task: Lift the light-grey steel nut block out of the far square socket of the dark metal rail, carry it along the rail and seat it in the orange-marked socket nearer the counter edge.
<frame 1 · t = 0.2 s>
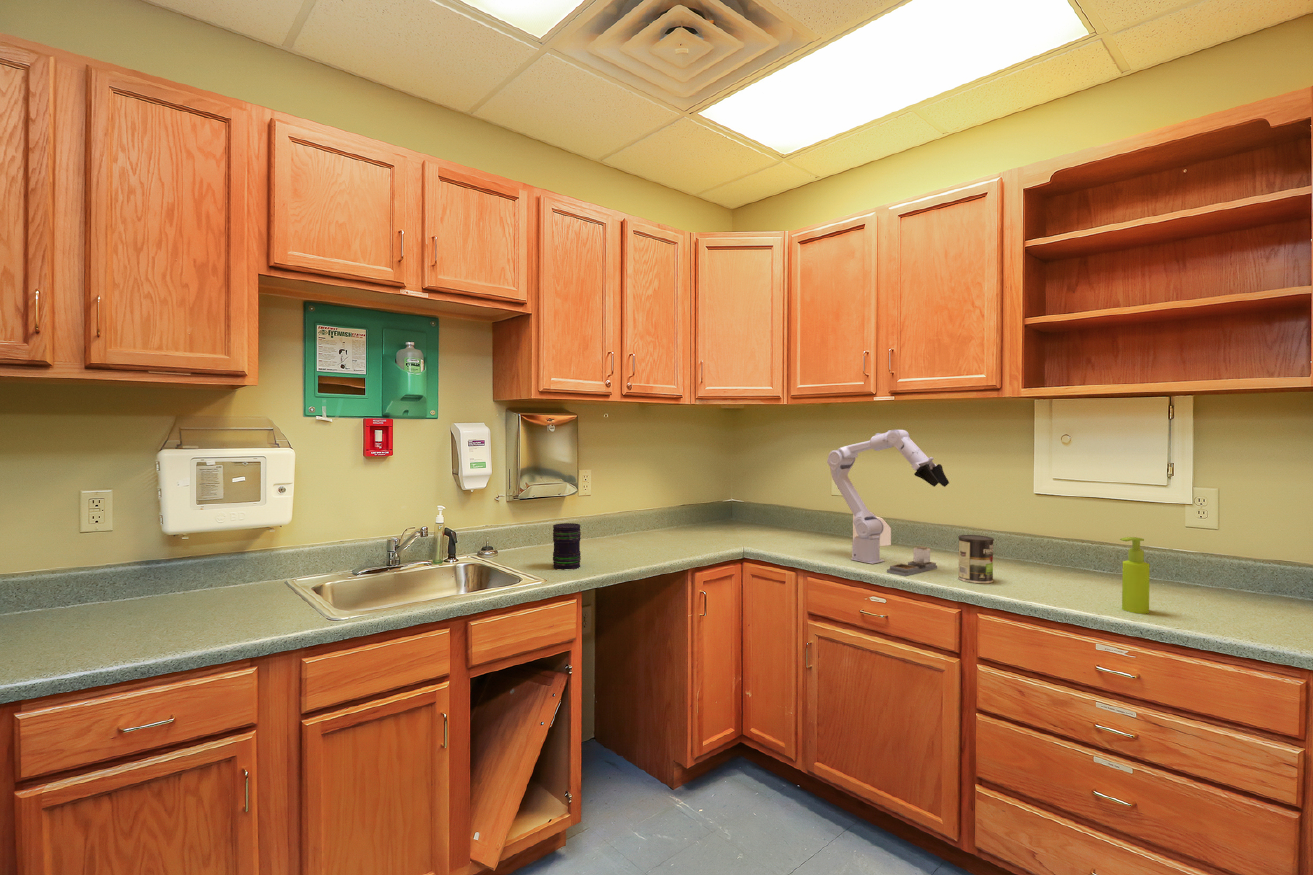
hand: (941, 484, 212), 31 cm above the worktop, tool tilted 45°, fingers open, 7 cm apart
storage jar: (566, 567, 224), on the worktop
rail: (912, 570, 219), on the worktop
coffee can: (975, 580, 206), on the worktop
nut block: (921, 565, 223), point 1 cm above the worktop, touching rail
soap dispenser: (1133, 611, 171), on the worktop
corner bracket: (871, 544, 270), on the worktop
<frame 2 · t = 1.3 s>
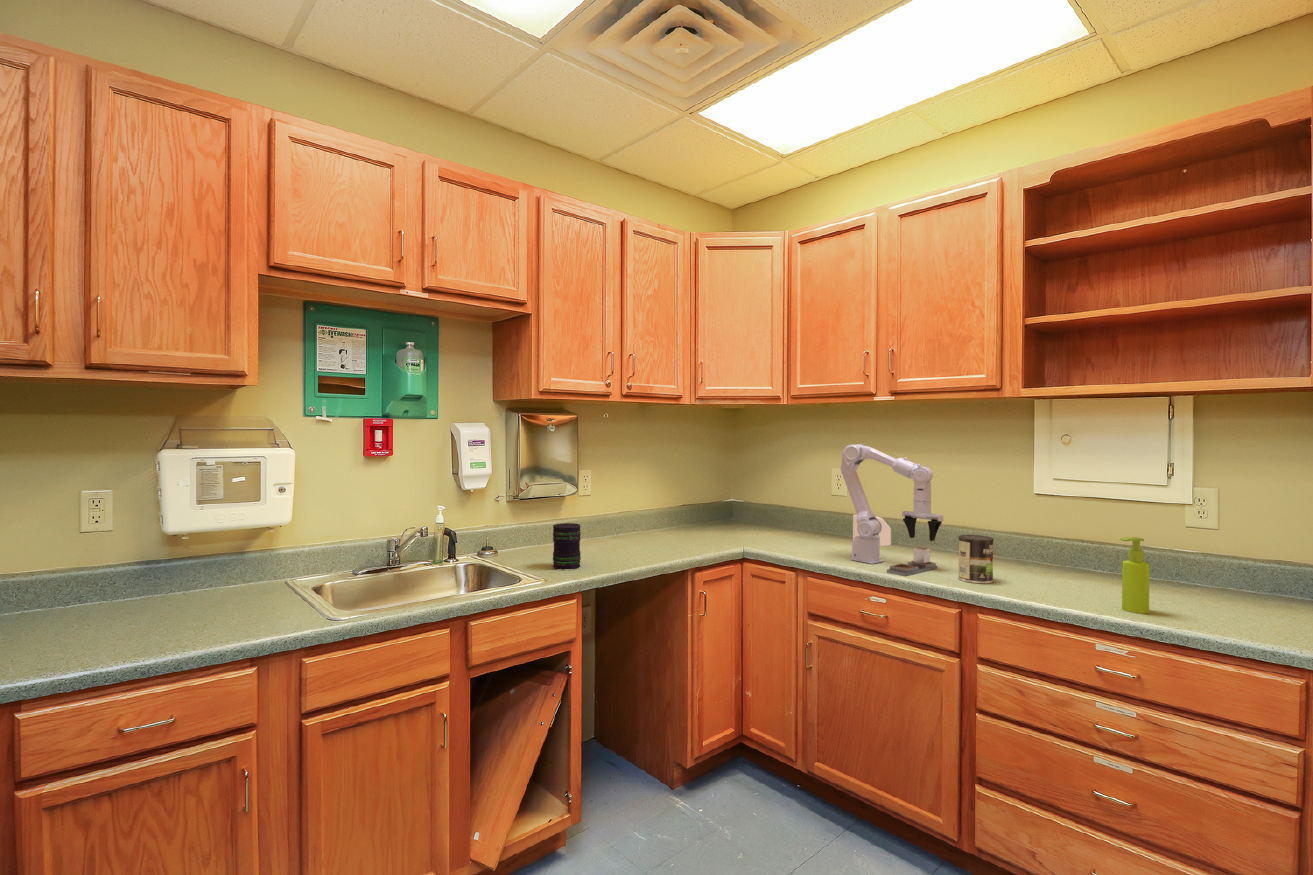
hand: (922, 539, 223), 10 cm above the worktop, tool pointing down, fingers open, 7 cm apart
nothing on the worktop moved.
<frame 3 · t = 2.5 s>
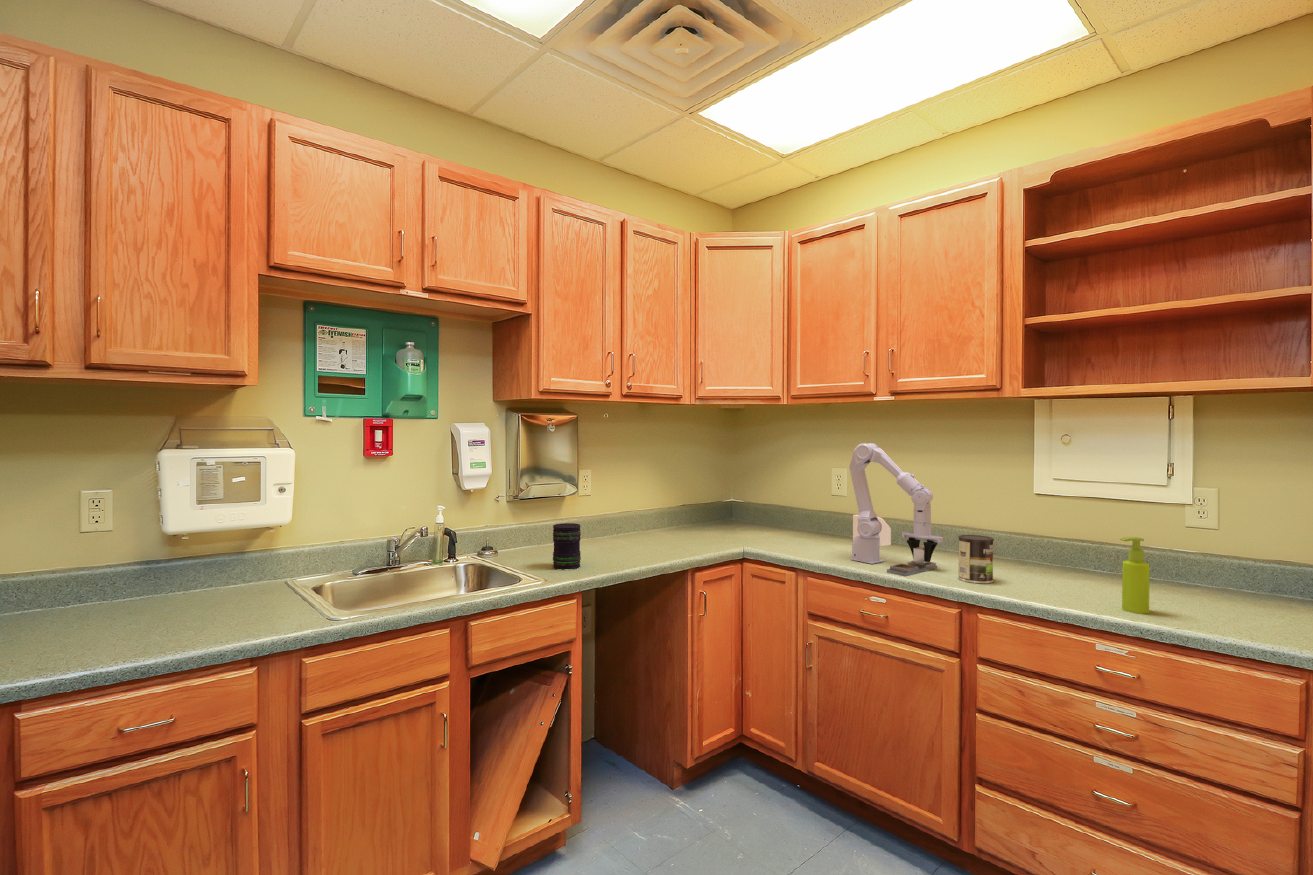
hand: (921, 560, 223), 3 cm above the worktop, tool pointing down, fingers closed on nut block, 4 cm apart
nut block: (921, 565, 223), point 1 cm above the worktop, touching gripper, rail
everything else where it was.
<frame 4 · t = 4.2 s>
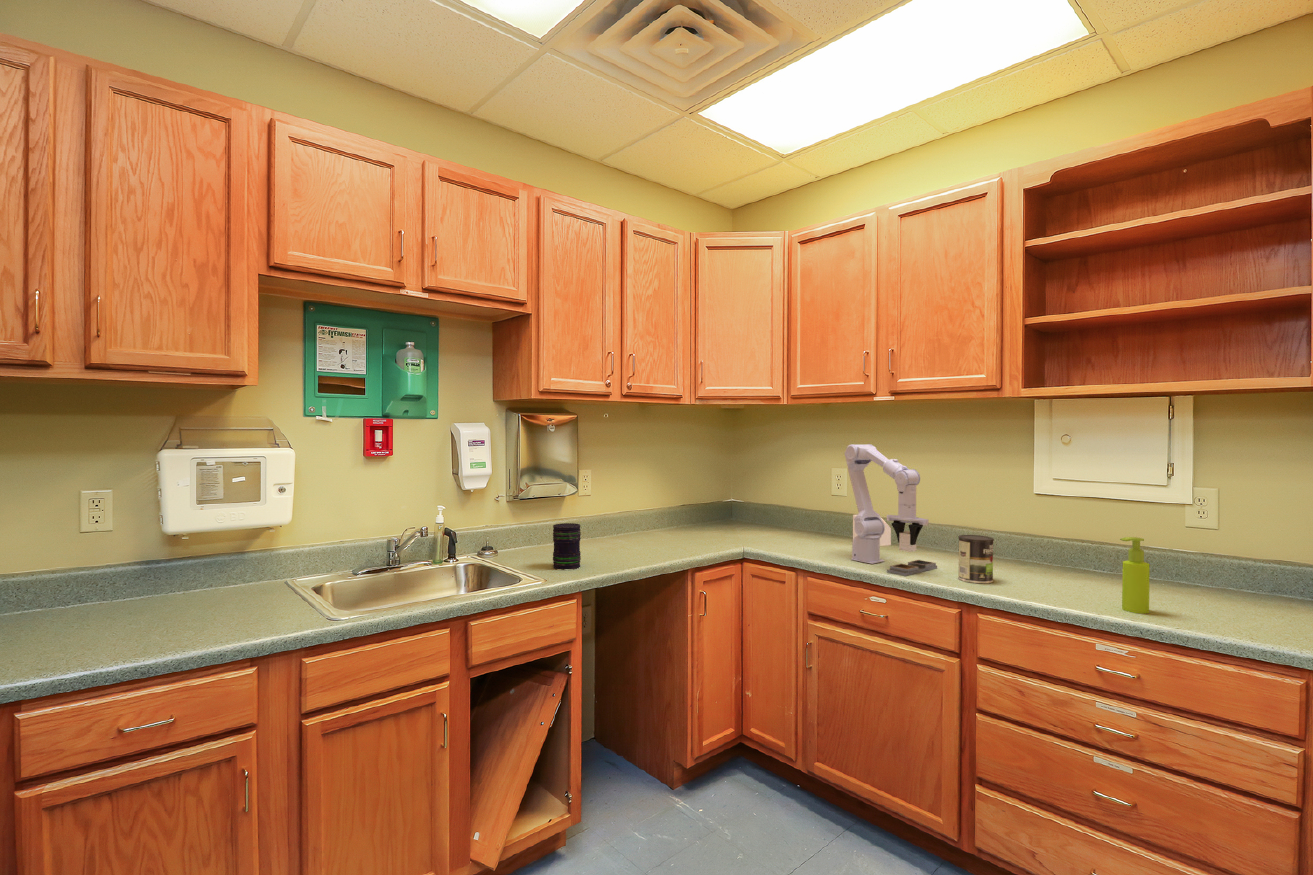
hand: (906, 543, 217), 10 cm above the worktop, tool pointing down, fingers closed on nut block, 4 cm apart
nut block: (907, 550, 217), point 7 cm above the worktop, touching gripper
everything else where it was.
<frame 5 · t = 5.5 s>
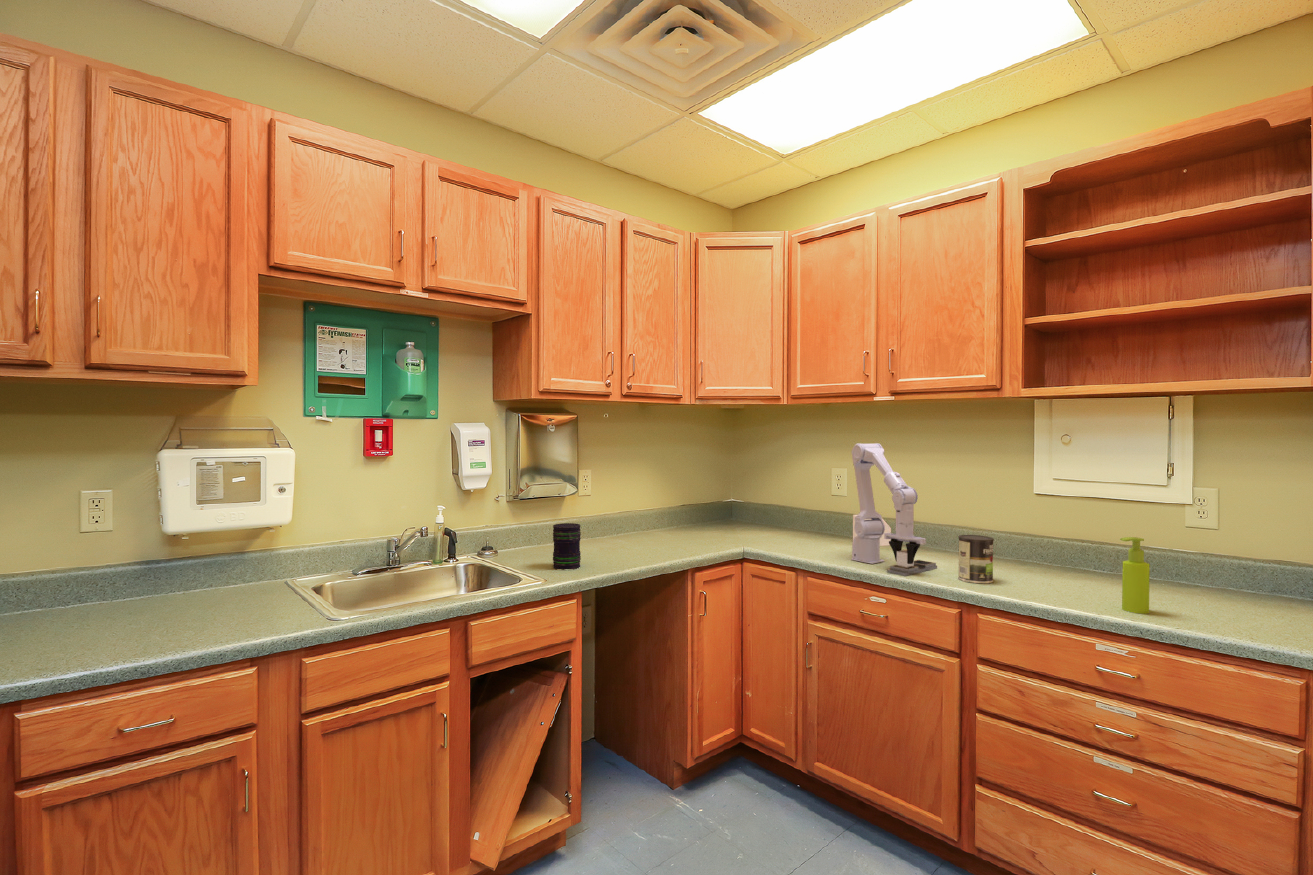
hand: (904, 562, 216), 3 cm above the worktop, tool pointing down, fingers closed on nut block, 4 cm apart
nut block: (905, 568, 217), point 1 cm above the worktop, touching gripper, rail
everything else where it was.
when the fingers open (3 cm above the worktop, at t = 6.0 s): nut block stays where it is, resting on rail.
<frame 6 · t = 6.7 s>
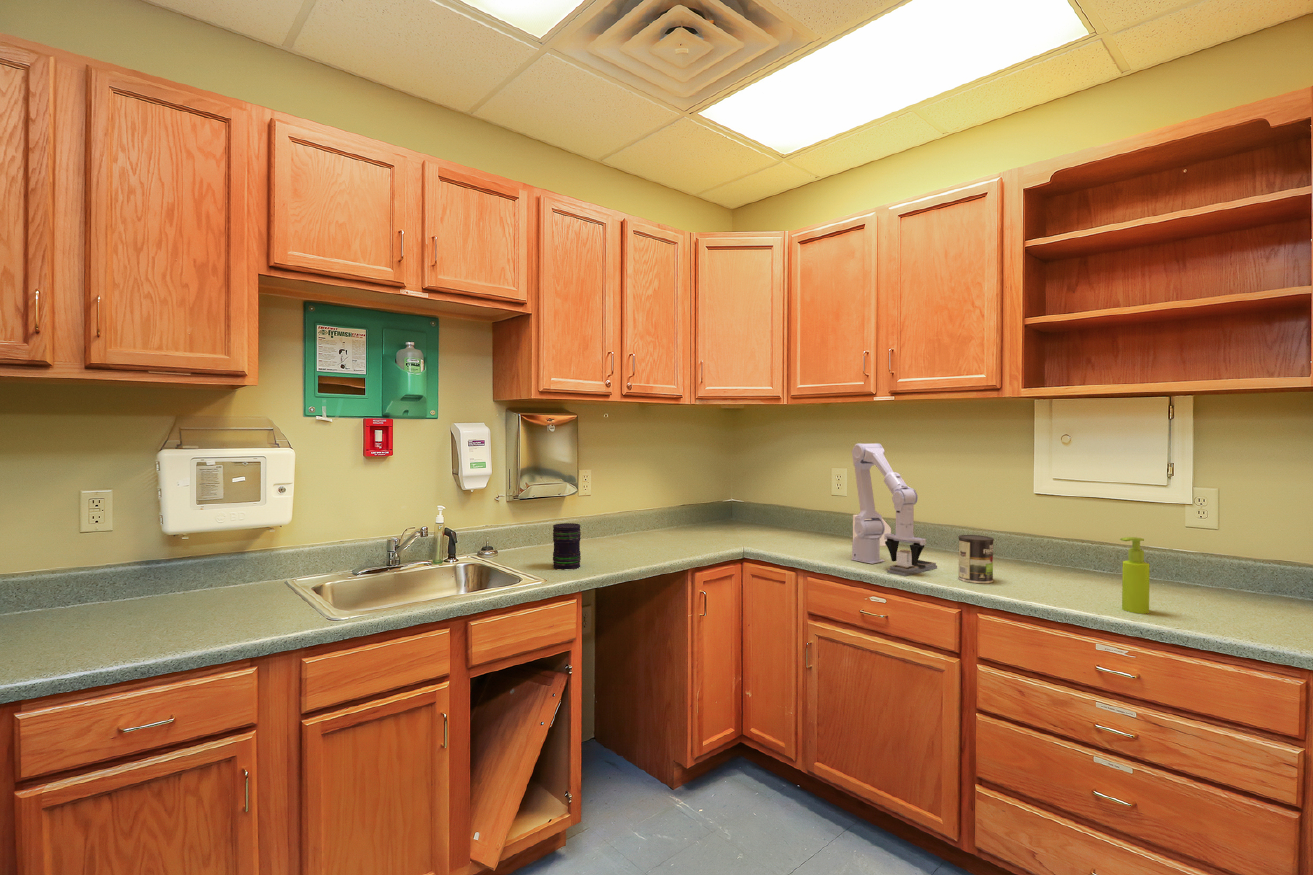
hand: (904, 562, 216), 3 cm above the worktop, tool pointing down, fingers open, 7 cm apart
nut block: (905, 568, 217), point 1 cm above the worktop, touching rail
everything else where it was.
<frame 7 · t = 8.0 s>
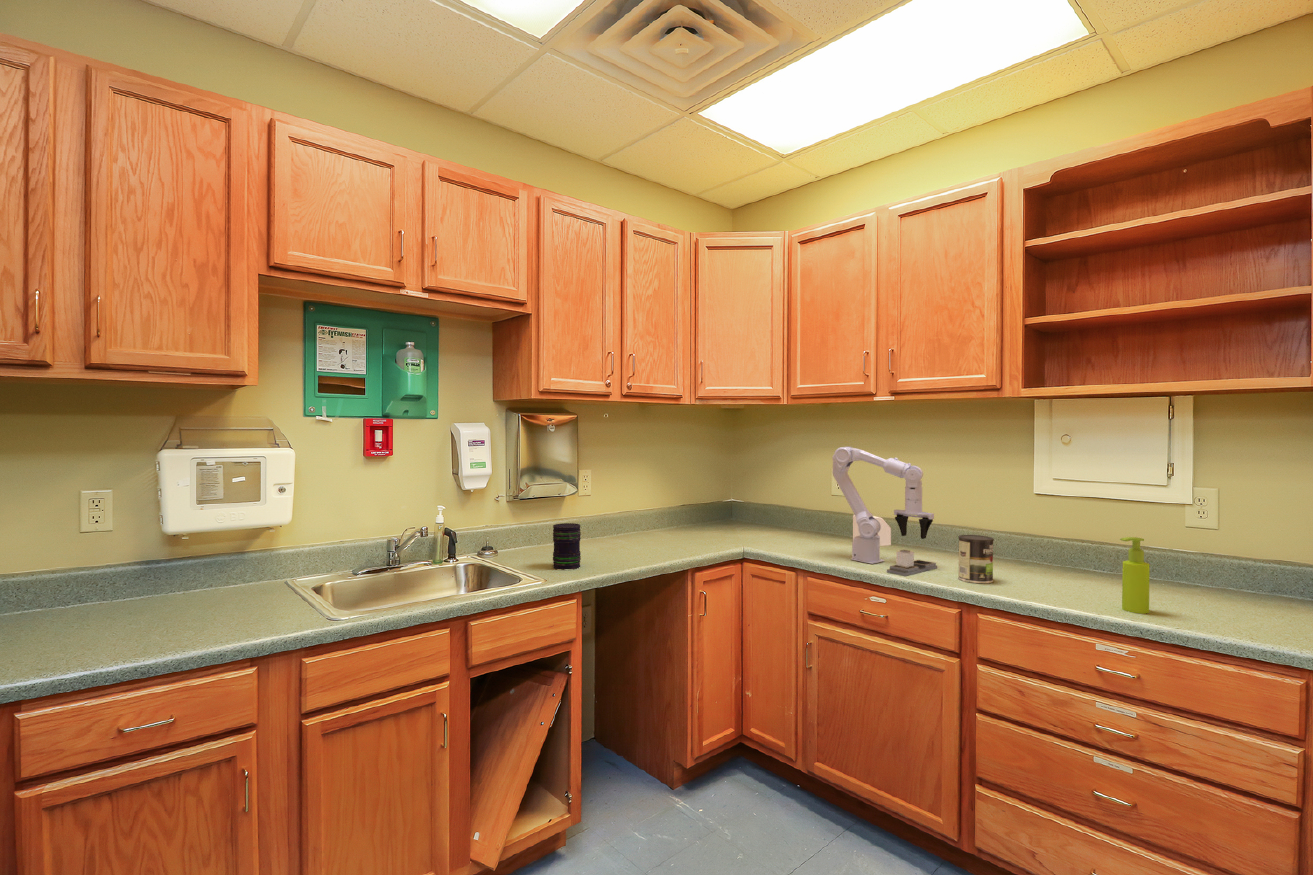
hand: (913, 537, 227), 10 cm above the worktop, tool pointing down, fingers open, 7 cm apart
nothing on the worktop moved.
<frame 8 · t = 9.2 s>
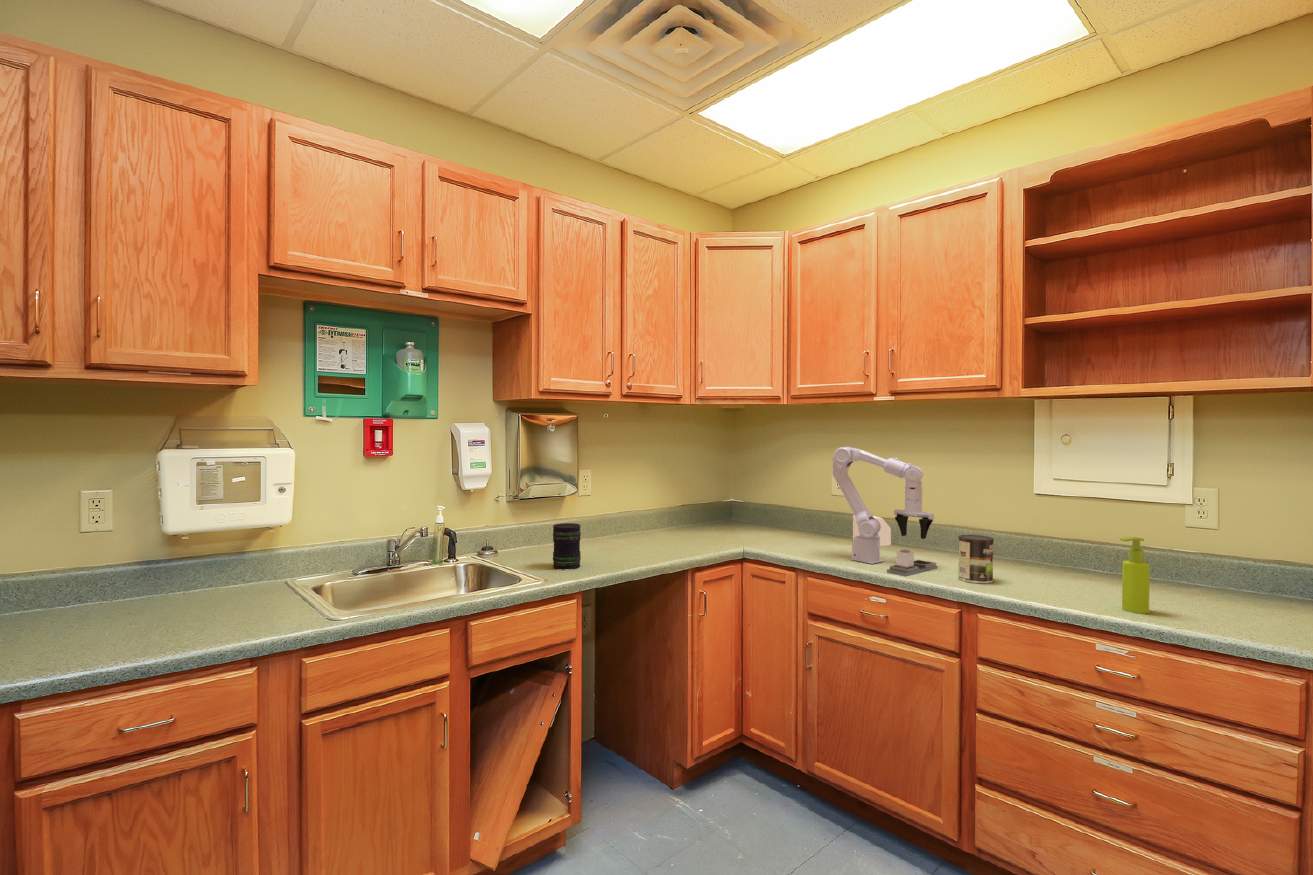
hand: (913, 537, 227), 10 cm above the worktop, tool pointing down, fingers open, 7 cm apart
nothing on the worktop moved.
at the end: nut block 0.5 cm from the target spot on the rail, point 1.1 cm above the rail's base; nut block tilted 0°; the gripper is holding nothing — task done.
